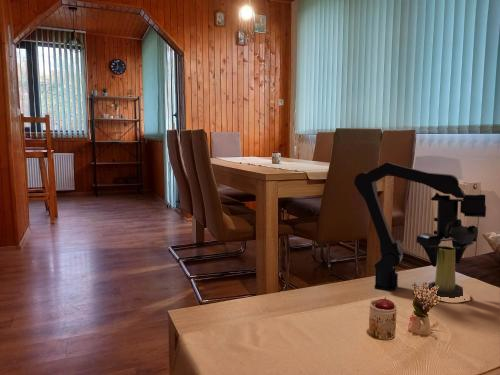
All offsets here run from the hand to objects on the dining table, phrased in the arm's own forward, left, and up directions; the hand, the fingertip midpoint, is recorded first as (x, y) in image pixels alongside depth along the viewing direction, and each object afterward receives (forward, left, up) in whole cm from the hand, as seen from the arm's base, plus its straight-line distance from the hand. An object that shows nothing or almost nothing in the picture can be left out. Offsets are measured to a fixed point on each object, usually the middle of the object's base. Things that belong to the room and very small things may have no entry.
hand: (445, 265), depth 128 cm
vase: (0, 0, -9) cm, 9 cm away
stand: (0, 0, -10) cm, 10 cm away
